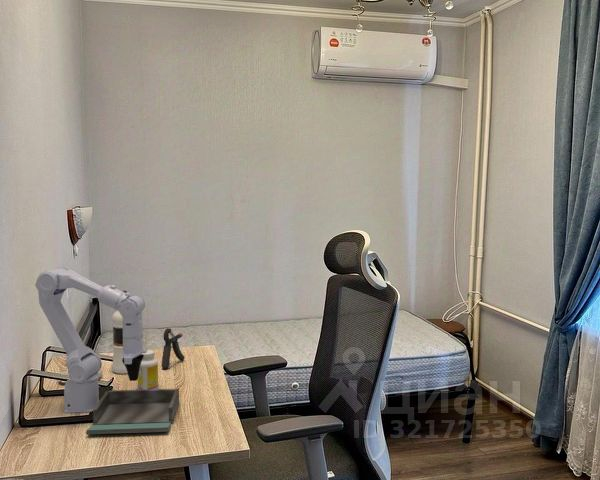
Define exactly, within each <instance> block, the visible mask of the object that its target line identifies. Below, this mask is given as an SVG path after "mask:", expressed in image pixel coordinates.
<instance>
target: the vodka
mask: <svg viewBox="0 0 600 480" xmlns="http://www.w3.org/2000/svg"><path fill="white" fill-rule="evenodd" d="M122 291H123V292H125V293H127V292H128V291H127V290H122ZM111 319H112V324H111V326H112V338H113V339H112V341H113V342H112V350H113V353H112V354H113V355H112V365H111V370H112V372H113V373H114V374H118V375H126V374H127V375H128V372H127V369H126V367H125V365H124V364H123V362H122V359H123V358H124V356H123V354H122V351H123V323H122V322H123V320H122V316H121V314H120V313H119V311H117V310H115V311H114V313H113V314H112V317H111Z"/></svg>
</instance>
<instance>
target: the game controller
mask: <svg viewBox="0 0 600 480" xmlns="http://www.w3.org/2000/svg"><path fill="white" fill-rule="evenodd" d="M59 374H62V375H68V370H64V371H61V372H59V373H58V375H59ZM68 376H69V375H68ZM102 376H103V369H102V368H101V369H100V370H99V371H98V380H100V379H101V378H102ZM59 382H60V383H61V384H64V385H65V384H66V382H62V381H59Z"/></svg>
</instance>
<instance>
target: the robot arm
mask: <svg viewBox="0 0 600 480" xmlns="http://www.w3.org/2000/svg"><path fill="white" fill-rule="evenodd" d="M34 286H35V288H36V289H37V292H38V293H37V294H38V303H39V306H40V308H41V309H42V312H43V314H44V315H45V317H46V319H47V321H48V322H49V324H50V326H51V327H52V330H53V331H54V333H55V335H56V338H57V339H58V340H59V342H60V344H61V346H62V348H63V350H64V352H65V353H66V360H65V366H66V368H67V371H68V375H69V377H70V379H71V380H67V381H66V384H65V383H64V388H63V395H64V396H63V397H64V398H63V399H64V401H63V402H64V410H63V413H65V414H66V413H67V414H68V413H70V414H71V413H93V412H92V411H93V409H94V408H95V406H96V405H97V403H98V402H99V401H100V396H99V395H100V394H99V389H100V388H99V379H98V371H99V370H100V369H101V370H102V366H103V362H102V360H101V358H100V356H98V355H97V354H96V353H95V352H94V350H93V349H92V348H90V347H89V346H86V345H85V343H84V341H83V340H82V338H81V337H80V334H79V333H78V331H77V329H76V327H75V325H74V324H73V321H72V319H71V318H70V316H69V314H68V312H67V311H66V309H65V307H64V305H63V303H62V302H61V301H62V298H63V295H64V293H65V292H66V290H67V289H76V290H79V291H80V292H83V293H86V294H88V295H91V296H94V297H96V298H97V301H98V302H99V304H102V305H104V306H106V307H109V308H111V309H113V310H115V311H119V313H120V314H121V316H122V320H123V322H122V323H123V351H122V354H123V356H124V358H123V359H122V362H123V364H124V365H125V367H126V369H127V372H128V374H127V377H128V380H129V382H132V381H135V382H138V375H139V369H140V365H141V362H142V359H143V357H144V355H143V354H142V353H146V352H147V350H148V349H147V348H143V347H144V346H143V345H144V344H143V343H144V342H143V341H144V339H143V337H144V334H143V331H144V330H143V311H144V309H145V308H146V304H145V303H146V302H145V300H144V298H143V297H141V296H140V295H139V294H132V295H131V293H130V292H128V291H127V293H125V292H123V291H124V290H121V289H118V288H117V285H114V284H111V285H109V284H108V285H104V286H102V285H100V284H98V283H96V282H94V281H92V280H90V279H88V278H87V277H84V276H82V275H81V274H78V273H77V272H76V271H74V270H72V269H69V268H67V267H65V266H64V267H62V266H61V267H58V268H55V269H52V270H45V271H43V272H40V273H39V275H38V276H37V279H36V281H35V283H34Z"/></svg>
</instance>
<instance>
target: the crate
mask: <svg viewBox="0 0 600 480" xmlns="http://www.w3.org/2000/svg"><path fill="white" fill-rule="evenodd" d="M99 400H100V401H99V402H98V403H97V405H96V406H95V408H94V409H93V412H92V425H113V424H144V423H171V425H173V423H174V421H175V418H176V416H177V415H176V414H177V412H178V409H179V406H180V389H179V388H162V389H161V388H160V389H159V388H158V389H149V390H138V389H123V390H122V389H118V390H115V389H114V390H106V391H105V392H104V394H103V395H102V396H101V397H100V398H99Z"/></svg>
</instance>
